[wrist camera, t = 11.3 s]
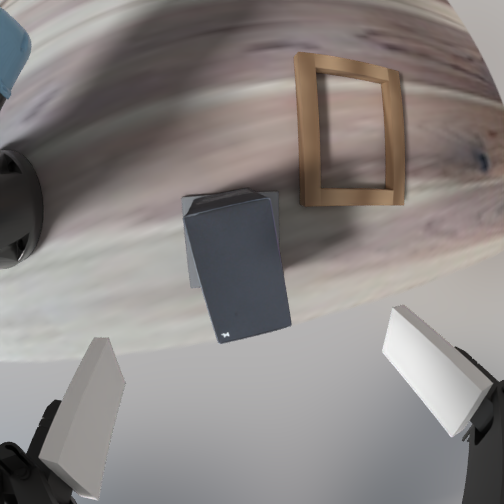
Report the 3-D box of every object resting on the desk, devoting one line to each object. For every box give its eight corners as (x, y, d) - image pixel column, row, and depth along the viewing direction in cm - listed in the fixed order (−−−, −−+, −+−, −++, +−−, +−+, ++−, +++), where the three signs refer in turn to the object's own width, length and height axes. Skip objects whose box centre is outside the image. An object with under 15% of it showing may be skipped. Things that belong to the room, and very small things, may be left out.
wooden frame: (299, 204, 30) (304, 206, 28) (293, 57, 25) (298, 51, 23) (395, 203, 31) (403, 205, 30) (390, 74, 26) (398, 71, 25)
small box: (270, 279, 31) (296, 329, 22) (214, 292, 31) (216, 348, 21) (252, 185, 28) (274, 196, 18) (190, 199, 28) (177, 217, 18)
